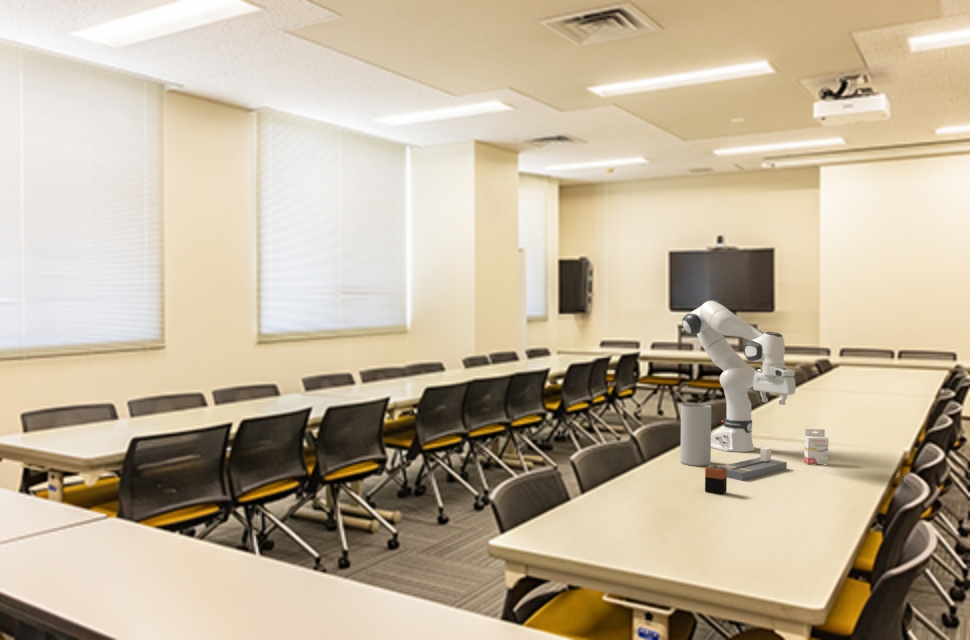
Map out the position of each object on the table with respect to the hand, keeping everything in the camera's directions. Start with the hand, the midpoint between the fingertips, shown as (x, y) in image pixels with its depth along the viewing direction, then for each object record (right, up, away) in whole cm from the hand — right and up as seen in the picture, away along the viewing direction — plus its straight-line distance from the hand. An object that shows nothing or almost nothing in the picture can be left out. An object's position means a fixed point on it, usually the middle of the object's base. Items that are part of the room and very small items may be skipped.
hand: (773, 403), depth 311 cm
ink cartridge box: (+21, -27, +7) cm, 35 cm away
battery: (-37, -28, -40) cm, 61 cm away
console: (-12, -27, -8) cm, 31 cm away
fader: (-4, -26, -2) cm, 26 cm away
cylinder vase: (-31, -27, +8) cm, 42 cm away
